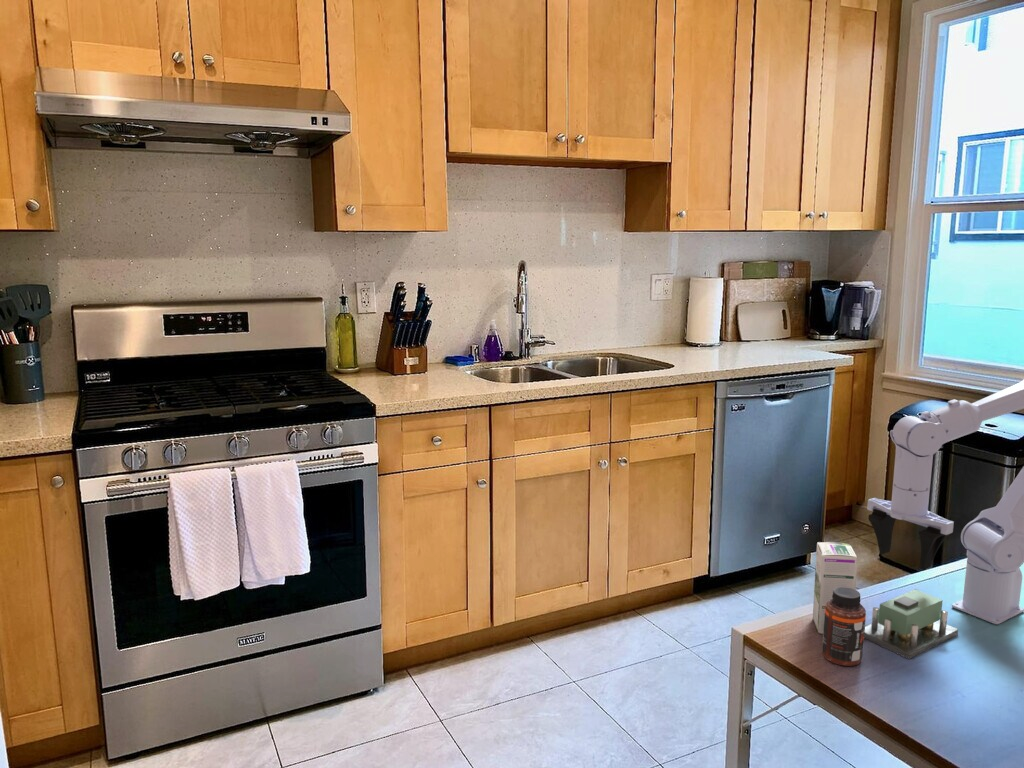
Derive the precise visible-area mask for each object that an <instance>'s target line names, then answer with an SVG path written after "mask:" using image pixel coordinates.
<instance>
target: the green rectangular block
mask: <svg viewBox="0 0 1024 768" xmlns="http://www.w3.org/2000/svg"><path fill="white" fill-rule="evenodd" d="M878 608H879V619H878V624H881V625H883V626H884V623H885V619H886V618H888V619H891V620H892V622H891V629H892V630H894V631H896V632H898V633H900V634H903V635H905V636H906V635H908V634H910V633H911V625H912V624H916V625H918V630H919V629H921V628H923V627H925V626H927V625H930V624H932V623H934V622H936V621H940V616H941V611H942V609H943V599H941V598H938V597H936V596H933V595H931V594H929V593H926V592H923V591H921V590H918V589H916V588H915V589H913V590H910V591H907V592H905V593H902V594H900V595H898V596H896V597H893V598H891V599H888V600H886V601H883V602H881V603H879V607H878Z"/></svg>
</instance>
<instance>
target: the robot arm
mask: <svg viewBox="0 0 1024 768" xmlns="http://www.w3.org/2000/svg"><path fill="white" fill-rule="evenodd" d="M1023 409H1024V378H1023V379H1022V380H1020V382H1018V383H1016V384H1012V385H1011V386H1009V387H1006V388H1004V389H1001V390H999V391H997V392H994V393H992V394H990V395H988V396H986V397H984V398H981V399H978V400H977V401H974V402H972V403H971V402H969V401H968V400H963V399H961V400H957V399H955V398H954V399H951V400H948V401H947V405H944V406H942V407H939V408H936V409H933V410H931V411H928V410H925V411H922V412H920V415H919V416H914V415H906V416H904V417H902V418H900V419H899V420H898V421H897V422H896V423H895V425H894V426H893V429H891V430H890V431H889V435H890V438H891V441H892V442H893V443H894V445H895V451H894V452H895V456H894V457H895V458H894V466H893V467H894V469H893V479H892V480H893V481H892V492H891V500H885V499H880V498H877V497H873V498H869V499H868V500H867V511H869V512H870V511H871V514H868V521H869V523H870V525H871V527H872V529H873V531H874V533H875V537H876V541H877V544H878V545H877V546H878V552H879V554H881V555H884V554H887V553H889V552H890V551H891V547H892V540H893V539H892V538H893V531H894V530H893V529H894V526H895V522H896V520H901V521H906V522H909V523H913V524H916V525H918V526H921V527H924V528H926V529H923V530H920V531H918V535H919V540H920V549H921V551H920V560H919V561H920V562H919V567H920V569H922V570H927V569H930V568H931V567H932V565H933V562H934V559H935V556H936V554H937V552H938V550H939V549H940V547H941V545H942V544H943V543H944V541H945V540H946V539H947V538H948V537H949V535H950V534H952V533H953V532H954V522H955V521H953V520H949V519H947V518H944V517H943V516H940V515H938V514H937V513H934V512H932V511H929V500H930V490H931V483H932V482H931V481H932V468H933V457H934V455H935V454H936V453H937V452H939V450H940V449H941V447H942V445H944V444H946V443H949V442H950V441H951V442H952V441H953V440H956V439H959V438H961V437H964V436H967V435H971V434H973V433H976V432H977V431H978V430H980V428H981V425H982V422H984V421H987V420H991V419H994V418H997V417H1001V416H1004V415H1006V414H1007V415H1008V414H1010V413H1011V414H1012V413H1013V412H1017V411H1021V410H1023ZM1002 529H1003V530H1002ZM960 541H961V544H962V545H963V547H964V548H965V549H966V557H967V558H966V566H965V567H966V568H965V576H964V584H963V585H964V587H963V593H962V599H959V600H958V601H955V602H953V603H952V604H951V607H952V608H954V609H955V610H958V611H961V612H963V613H966V614H969V615H971V616H973V617H977V618H979V619H981V620H984V621H987V622H989V623H992V624H993V625H1000V624H1002V623H1004V622H1006V621H1007V620H1009V619H1011V618H1013V617H1015V616H1018V615H1019V614H1021V613H1023V612H1024V607H1022V606H1020V601H1021V593H1022V585H1023V584H1022V582H1023V573H1022V570H1021V568H1020V567H1022V566H1023V564H1024V466H1022V468H1021V469H1020V471H1019V472H1018V474H1017V476H1016V477H1015V478H1014V480H1013V481H1012V483H1011V484H1010V485H1009V487H1008V488H1007V490H1006V491H1005V493H1004V494H1003V496H1002V497H1001V499H1000V500H999V501H998V503H997V504H996V506H993V507H990V508H989V507H988V508H986V509H983V510H981V511H980V512H979V514H978V515H977V516H976V517H975V518H974V519H973V520H970V521H969V522H968V523H967V524H966V525H965V526H964V527H963V529H961V533H960Z"/></svg>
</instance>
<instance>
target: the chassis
mask: <svg viewBox="0 0 1024 768" xmlns="http://www.w3.org/2000/svg"><path fill="white" fill-rule="evenodd" d="M879 608H880V607H876V606H875V607H872V614H871V615H872V617H871V623H870V624H867V625H865V630H864V639H865V638H866V640H868V641H869V642H871V643H874V642H875V643H874V644H875V645H878V646H880V645H881V646H880V647H882V646H883V647H882V648H884V647H885V649H886V648H887V650H888V651H891V652H893V653H894V654H897V653H898V654H897V655H899V656H901V655H902V656H901V657H903V656H904V658H905V659H907V658H908V660H910V659H912V658H914V657H917V656H918V655H920V654H922V653H924V652H926V651H928V650H931V649H933V648H934V647H936V646H938V645H940V644H942V643H945V642H947V641H948V640H950V639H952V638H954V637H957V636H958V635H959V629H958V628H957V627H953V626H951V625H949V624H948V623H947V622H948V612H949V611H947V610H942V611H941V616H940V620H938V621H936V622H934V623H932V624H930V625H927V626H925V627H923V628H921V629H919V630H918V625H916V624H912V625H911V633H910V634H908V635H906V636H905V635H903V634H900V633H898V632H896V631H894V630H892V629H891V622H892V620H891V619H888V618H886V619H885V623H884V626H883V625H881V624H878V619H879Z"/></svg>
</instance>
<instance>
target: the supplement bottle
mask: <svg viewBox="0 0 1024 768" xmlns="http://www.w3.org/2000/svg"><path fill="white" fill-rule="evenodd" d="M832 598H833V599H831V600H829V601H828V602H827V603H826V606H825V617H824V632H823V634H822V636H823V637H822V655H823V657H824V658H825V659H826V660H828V661H829V662H831V663H833V664H835V665H839V666H843V667H850V666H851V667H853V666H857V665H860V663H861V662H862V660H863V656H864V655H863V653H864V642H865V638H864V630H865V626H866V618H867V617H866V615H867V614H866V613H867V611H866V609H865V607H864V606H863V605H862V603H861V592H859V591H858V590H855V589H852V588H848V587H837V588H835V589H834V590H833V595H832Z"/></svg>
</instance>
